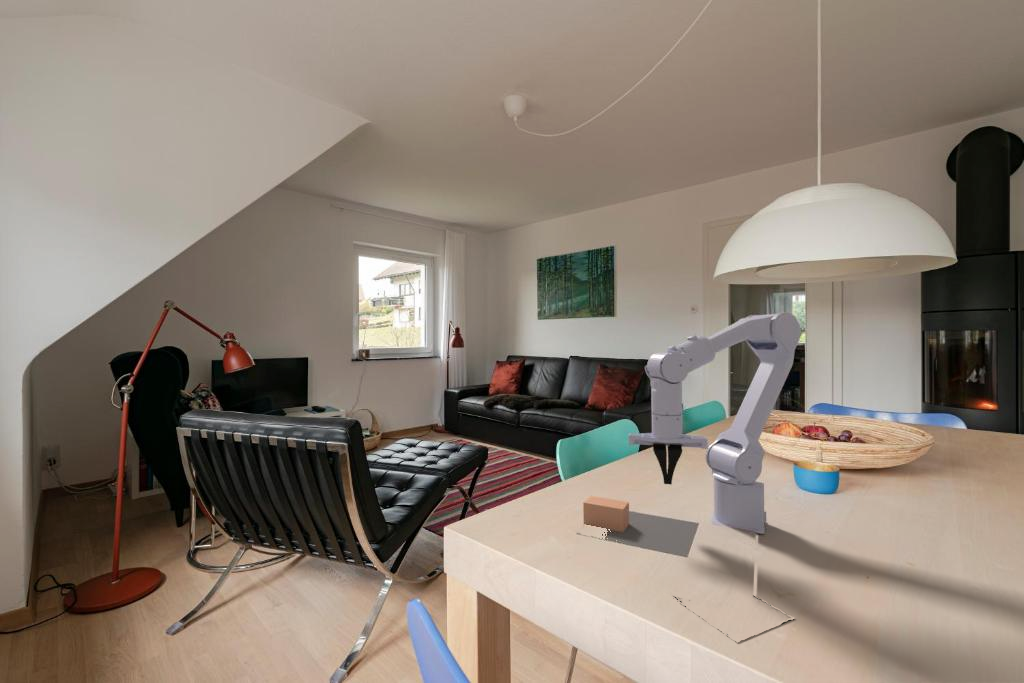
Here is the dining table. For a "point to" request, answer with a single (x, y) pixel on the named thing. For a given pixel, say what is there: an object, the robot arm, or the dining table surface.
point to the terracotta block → (606, 513)
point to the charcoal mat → (656, 534)
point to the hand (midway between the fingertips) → (667, 482)
